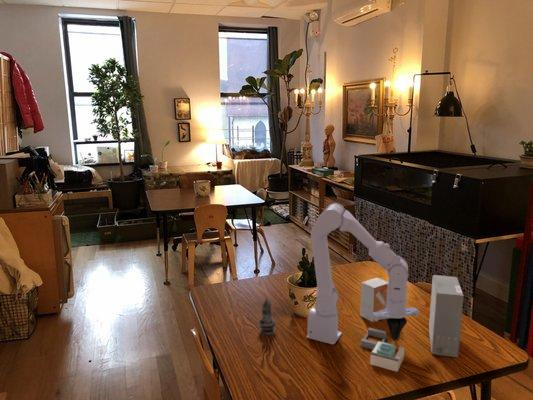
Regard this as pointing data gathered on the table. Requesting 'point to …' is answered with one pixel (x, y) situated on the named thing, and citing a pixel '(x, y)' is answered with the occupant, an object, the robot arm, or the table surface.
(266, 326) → the grey ridged spire
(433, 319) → the hard drive box
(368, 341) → the frame
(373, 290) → the small box
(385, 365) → the port
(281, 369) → the table surface
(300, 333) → the table surface
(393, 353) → the plug
